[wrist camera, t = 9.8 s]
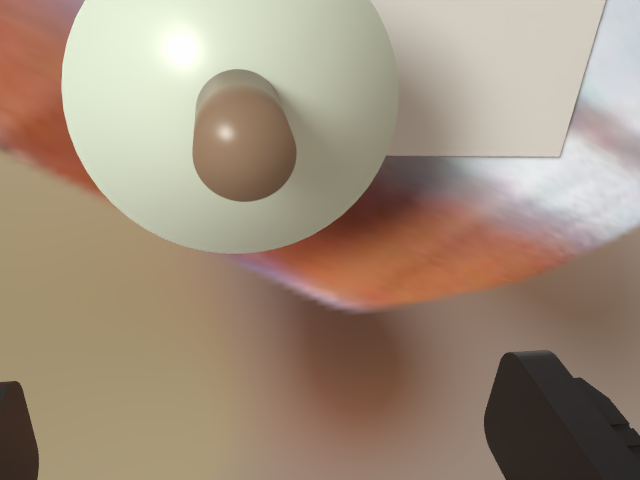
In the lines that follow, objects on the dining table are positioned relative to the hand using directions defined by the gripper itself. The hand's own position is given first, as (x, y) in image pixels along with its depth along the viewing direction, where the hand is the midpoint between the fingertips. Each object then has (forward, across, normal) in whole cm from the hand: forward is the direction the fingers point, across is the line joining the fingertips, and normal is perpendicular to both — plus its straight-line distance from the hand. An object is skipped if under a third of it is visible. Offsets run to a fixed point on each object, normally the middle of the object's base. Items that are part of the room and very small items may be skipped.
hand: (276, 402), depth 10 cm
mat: (+28, -15, -2) cm, 31 cm away
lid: (+18, 0, 0) cm, 18 cm away
